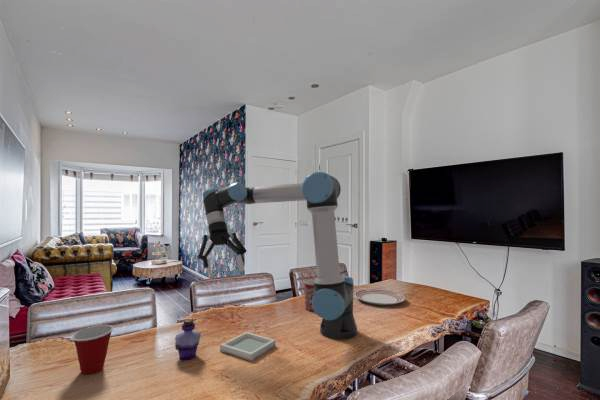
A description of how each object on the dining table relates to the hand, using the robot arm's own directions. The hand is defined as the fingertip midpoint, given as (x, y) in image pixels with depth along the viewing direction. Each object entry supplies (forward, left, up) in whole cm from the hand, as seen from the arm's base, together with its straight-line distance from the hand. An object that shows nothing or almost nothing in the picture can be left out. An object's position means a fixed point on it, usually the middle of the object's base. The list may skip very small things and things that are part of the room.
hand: (226, 273), depth 127 cm
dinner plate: (-37, -84, -25) cm, 95 cm away
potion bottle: (-3, +20, -25) cm, 32 cm away
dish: (-16, +4, -24) cm, 29 cm away
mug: (-12, -50, -25) cm, 57 cm away
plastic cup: (+14, +42, -25) cm, 51 cm away
